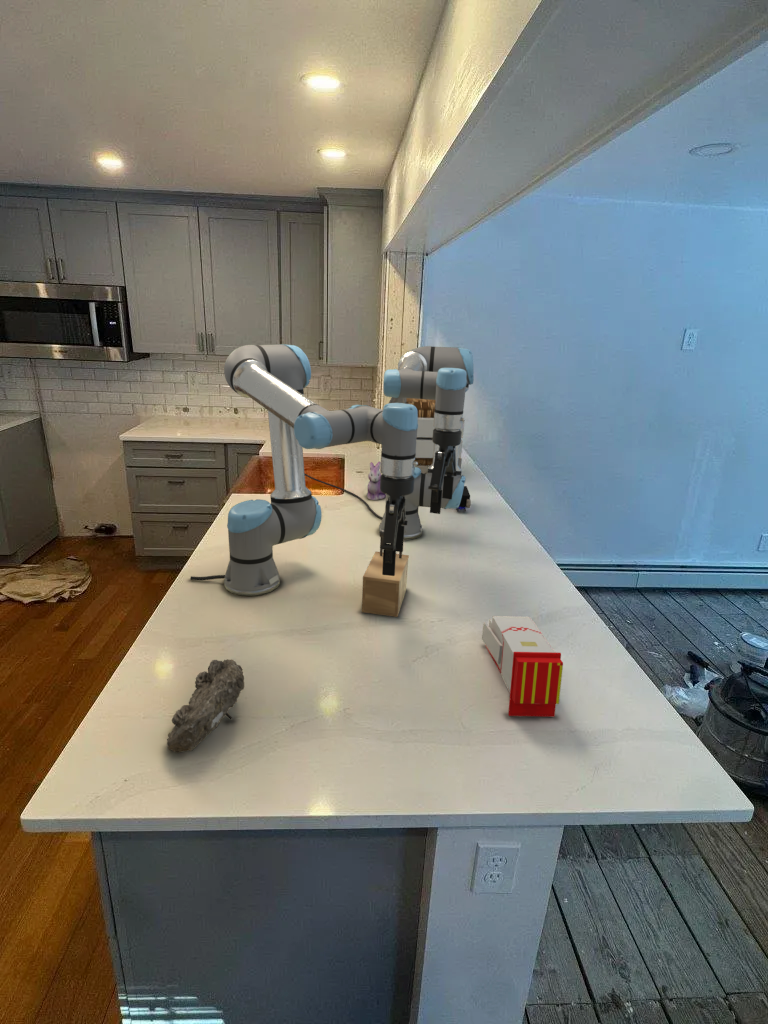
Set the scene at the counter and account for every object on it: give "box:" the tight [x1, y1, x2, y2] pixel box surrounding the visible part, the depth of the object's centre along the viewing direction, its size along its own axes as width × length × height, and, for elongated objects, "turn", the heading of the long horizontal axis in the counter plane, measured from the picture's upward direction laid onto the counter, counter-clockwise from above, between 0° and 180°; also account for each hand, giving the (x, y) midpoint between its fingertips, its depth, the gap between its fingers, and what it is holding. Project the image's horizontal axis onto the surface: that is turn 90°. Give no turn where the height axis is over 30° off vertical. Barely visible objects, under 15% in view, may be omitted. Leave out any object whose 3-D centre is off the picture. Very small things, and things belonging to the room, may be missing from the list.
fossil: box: [166, 658, 245, 754], centre depth 106 cm, size 22×10×15 cm
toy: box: [481, 615, 564, 718], centre depth 123 cm, size 12×13×30 cm
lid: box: [362, 530, 410, 584], centre depth 150 cm, size 16×10×8 cm, turn 169°
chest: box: [361, 560, 409, 618], centre depth 152 cm, size 16×10×9 cm, turn 169°
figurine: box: [366, 460, 386, 501], centre depth 235 cm, size 9×10×15 cm
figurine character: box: [456, 485, 472, 513], centre depth 228 cm, size 7×8×15 cm
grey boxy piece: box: [387, 397, 465, 470], centre depth 268 cm, size 34×33×41 cm
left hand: (393, 562), depth 132 cm, fingers open, 13 cm apart
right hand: (441, 505), depth 156 cm, fingers open, 13 cm apart
